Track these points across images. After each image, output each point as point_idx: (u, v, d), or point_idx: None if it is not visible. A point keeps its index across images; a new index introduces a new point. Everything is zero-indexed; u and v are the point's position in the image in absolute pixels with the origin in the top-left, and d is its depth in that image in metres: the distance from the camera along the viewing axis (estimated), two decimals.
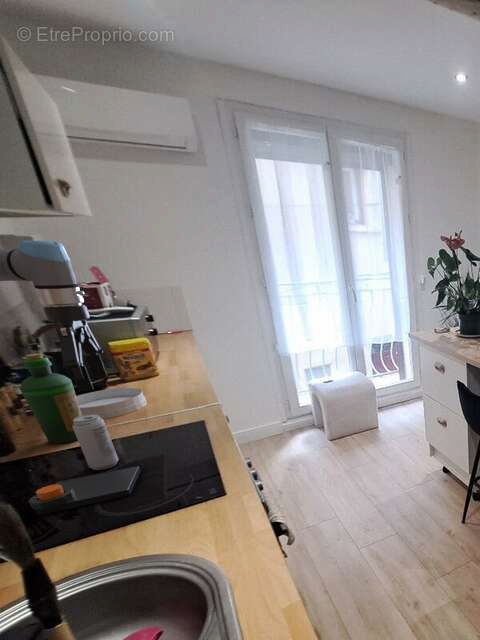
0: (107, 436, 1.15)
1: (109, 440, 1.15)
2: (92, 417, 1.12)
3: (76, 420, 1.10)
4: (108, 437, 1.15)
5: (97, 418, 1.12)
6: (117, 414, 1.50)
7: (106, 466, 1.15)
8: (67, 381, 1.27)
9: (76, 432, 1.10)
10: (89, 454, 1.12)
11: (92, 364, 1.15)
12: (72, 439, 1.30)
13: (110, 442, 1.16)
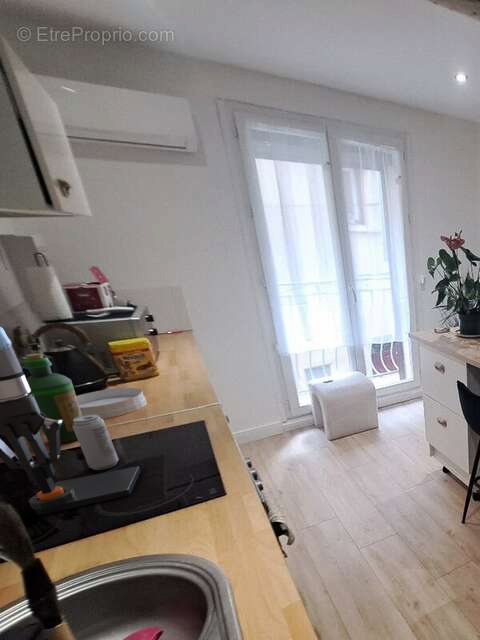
0: (107, 436, 1.15)
1: (109, 440, 1.15)
2: (92, 417, 1.12)
3: (76, 420, 1.10)
4: (108, 437, 1.15)
5: (97, 418, 1.12)
6: (117, 414, 1.50)
7: (106, 466, 1.15)
8: (67, 381, 1.27)
9: (76, 432, 1.10)
10: (89, 454, 1.12)
11: None
12: (72, 439, 1.30)
13: (110, 442, 1.16)
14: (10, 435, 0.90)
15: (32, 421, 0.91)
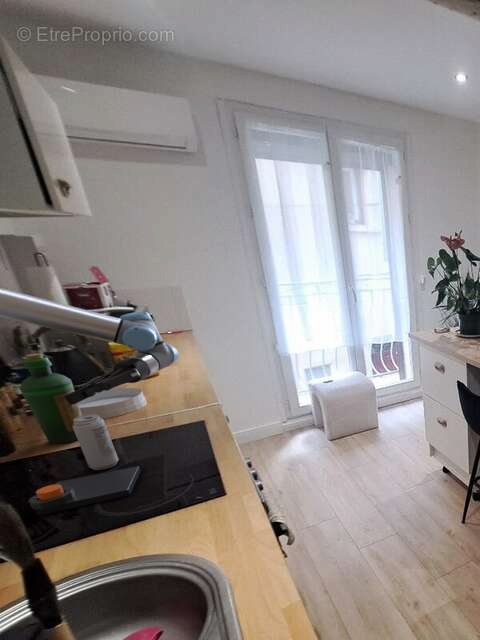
0: (107, 436, 1.15)
1: (109, 440, 1.15)
2: (92, 417, 1.12)
3: (76, 420, 1.10)
4: (108, 437, 1.15)
5: (97, 418, 1.12)
6: (117, 414, 1.50)
7: (106, 466, 1.15)
8: (67, 381, 1.27)
9: (76, 432, 1.10)
10: (89, 454, 1.12)
11: None
12: (72, 439, 1.30)
13: (110, 442, 1.16)
14: None
15: None
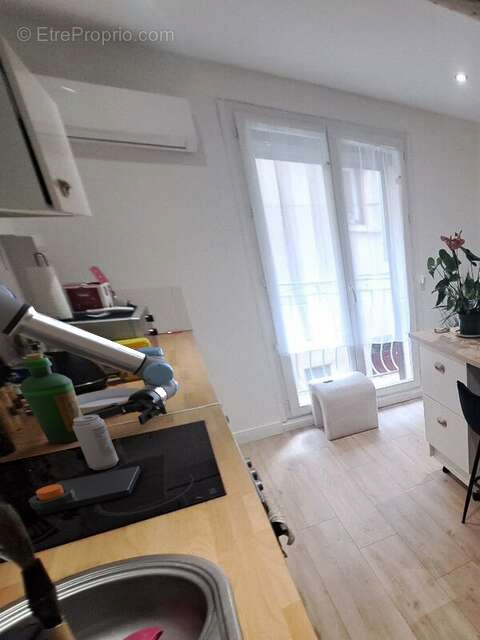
0: (107, 436, 1.15)
1: (109, 440, 1.15)
2: (92, 417, 1.12)
3: (76, 420, 1.10)
4: (108, 437, 1.15)
5: (97, 418, 1.12)
6: None
7: (106, 466, 1.15)
8: (67, 381, 1.27)
9: (76, 432, 1.10)
10: (89, 454, 1.12)
11: None
12: (72, 439, 1.30)
13: (110, 442, 1.16)
14: None
15: None
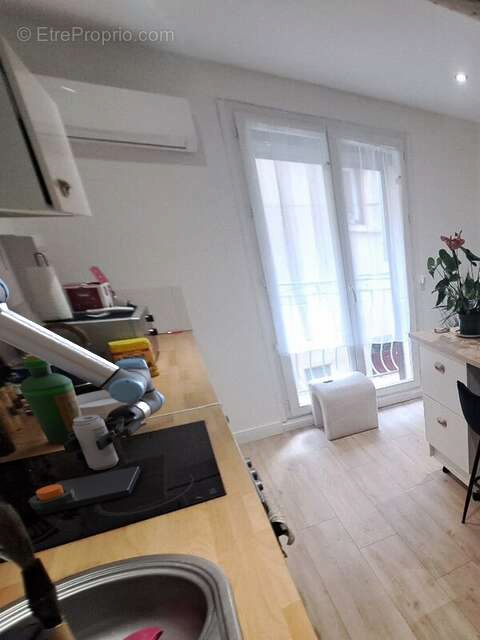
0: None
1: None
2: (92, 417, 1.12)
3: (76, 420, 1.10)
4: None
5: (97, 418, 1.12)
6: None
7: (106, 466, 1.15)
8: (67, 381, 1.27)
9: (76, 432, 1.10)
10: (89, 454, 1.12)
11: None
12: None
13: None
14: None
15: None
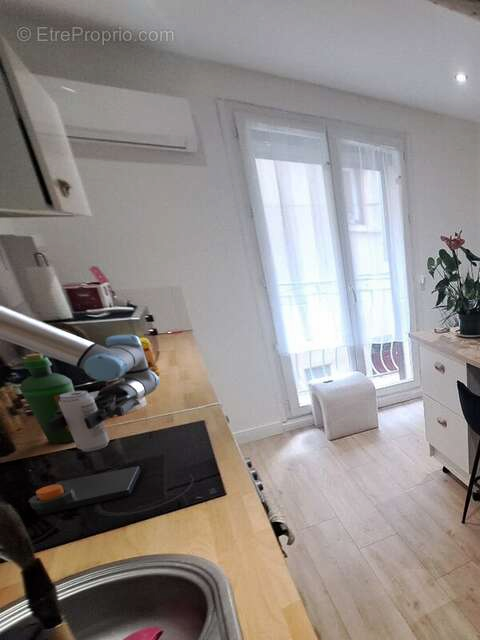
0: None
1: None
2: (80, 393, 1.03)
3: (63, 396, 1.01)
4: None
5: (86, 394, 1.03)
6: None
7: (96, 447, 1.06)
8: (67, 381, 1.27)
9: (63, 409, 1.01)
10: (77, 433, 1.03)
11: None
12: (72, 439, 1.30)
13: None
14: None
15: None
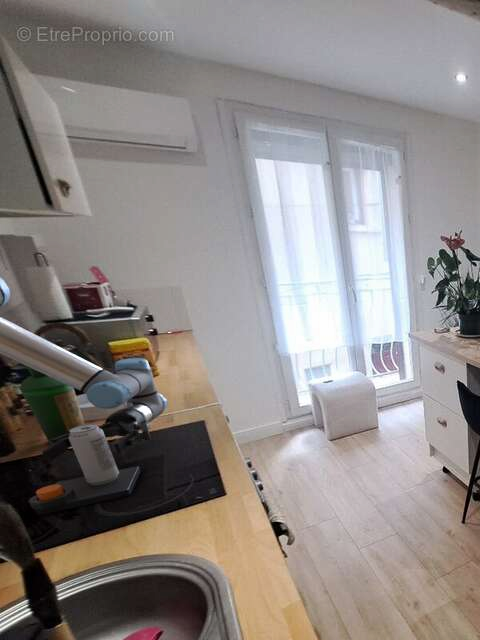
0: (107, 448, 1.05)
1: (108, 452, 1.05)
2: (90, 427, 1.02)
3: (72, 431, 1.00)
4: (108, 449, 1.05)
5: (96, 428, 1.02)
6: None
7: (105, 480, 1.05)
8: None
9: (72, 444, 1.00)
10: (87, 467, 1.02)
11: None
12: None
13: (110, 454, 1.06)
14: None
15: None
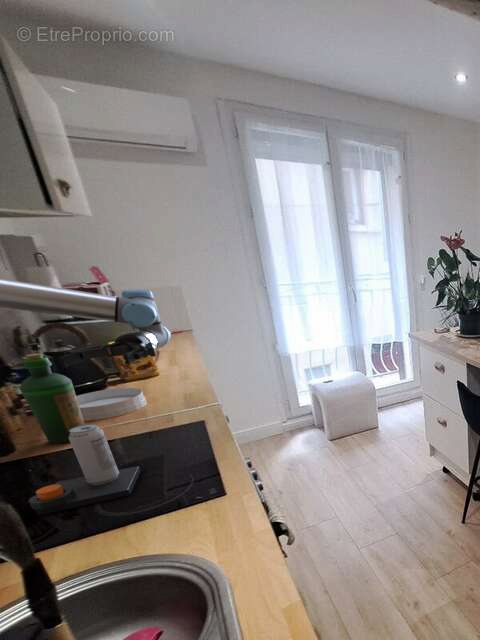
0: (107, 448, 1.05)
1: (108, 452, 1.05)
2: (90, 427, 1.02)
3: (72, 431, 1.00)
4: (108, 449, 1.05)
5: (96, 428, 1.02)
6: (117, 414, 1.50)
7: (105, 480, 1.05)
8: (67, 381, 1.27)
9: (72, 444, 1.00)
10: (87, 467, 1.02)
11: None
12: None
13: (110, 454, 1.06)
14: None
15: None
